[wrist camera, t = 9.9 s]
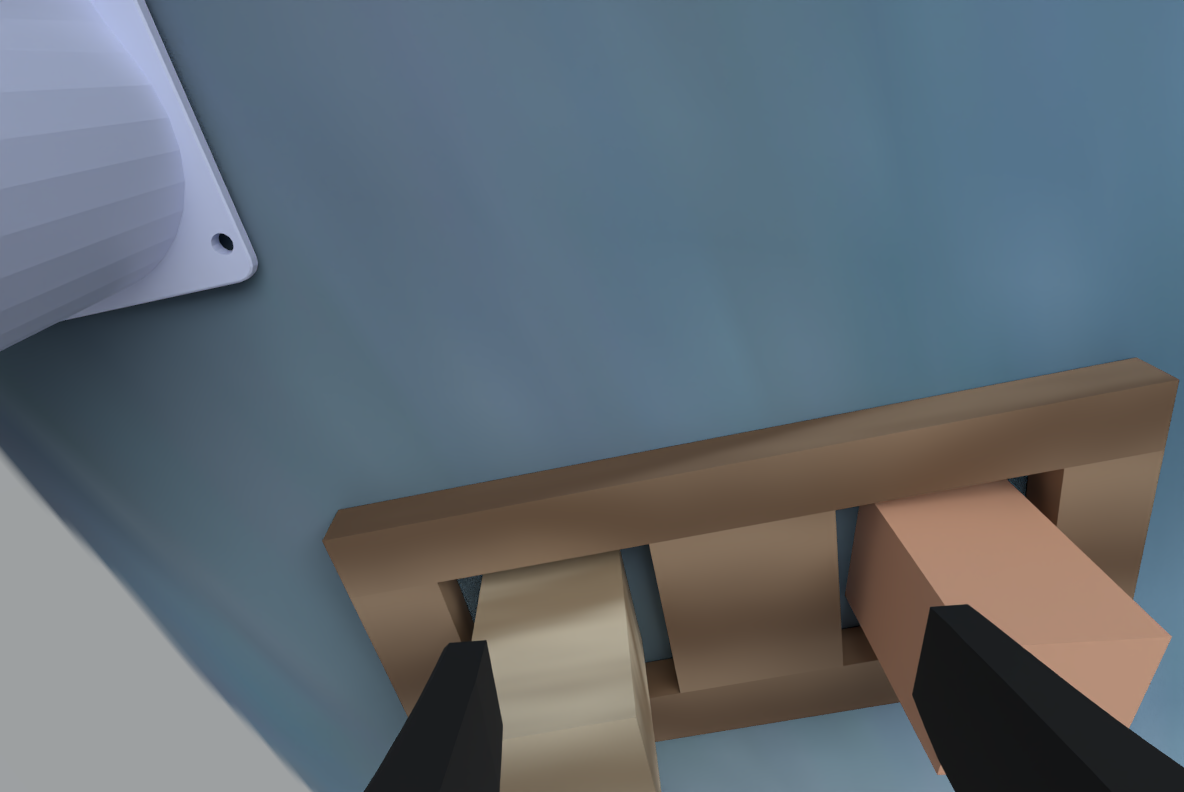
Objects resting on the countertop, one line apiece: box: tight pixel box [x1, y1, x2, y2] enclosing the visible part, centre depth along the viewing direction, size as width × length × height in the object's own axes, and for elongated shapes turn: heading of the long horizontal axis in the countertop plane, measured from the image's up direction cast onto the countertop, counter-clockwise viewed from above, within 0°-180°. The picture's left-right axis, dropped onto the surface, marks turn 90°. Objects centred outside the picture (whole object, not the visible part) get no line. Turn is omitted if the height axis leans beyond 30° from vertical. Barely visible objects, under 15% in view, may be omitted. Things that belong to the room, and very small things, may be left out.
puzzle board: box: [322, 358, 1179, 742], centre depth 22 cm, size 11×24×2 cm, turn 102°
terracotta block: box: [845, 479, 1171, 775], centre depth 19 cm, size 4×4×6 cm
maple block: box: [472, 549, 661, 792], centre depth 20 cm, size 4×4×6 cm
